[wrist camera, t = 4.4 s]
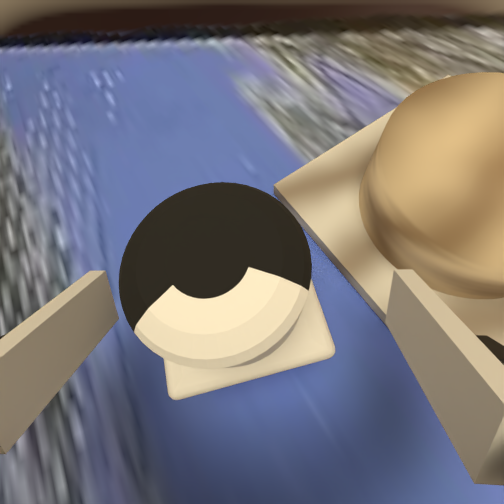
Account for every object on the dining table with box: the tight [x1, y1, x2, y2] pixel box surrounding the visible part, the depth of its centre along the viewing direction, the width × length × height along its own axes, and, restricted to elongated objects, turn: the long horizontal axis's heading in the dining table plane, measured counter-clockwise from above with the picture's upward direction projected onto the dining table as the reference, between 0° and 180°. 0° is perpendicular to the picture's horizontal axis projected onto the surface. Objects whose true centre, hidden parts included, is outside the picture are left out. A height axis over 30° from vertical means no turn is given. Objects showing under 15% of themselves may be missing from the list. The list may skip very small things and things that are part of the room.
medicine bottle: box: [119, 182, 335, 400], centre depth 14 cm, size 7×7×12 cm
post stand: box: [274, 72, 504, 346], centre depth 18 cm, size 18×18×6 cm
